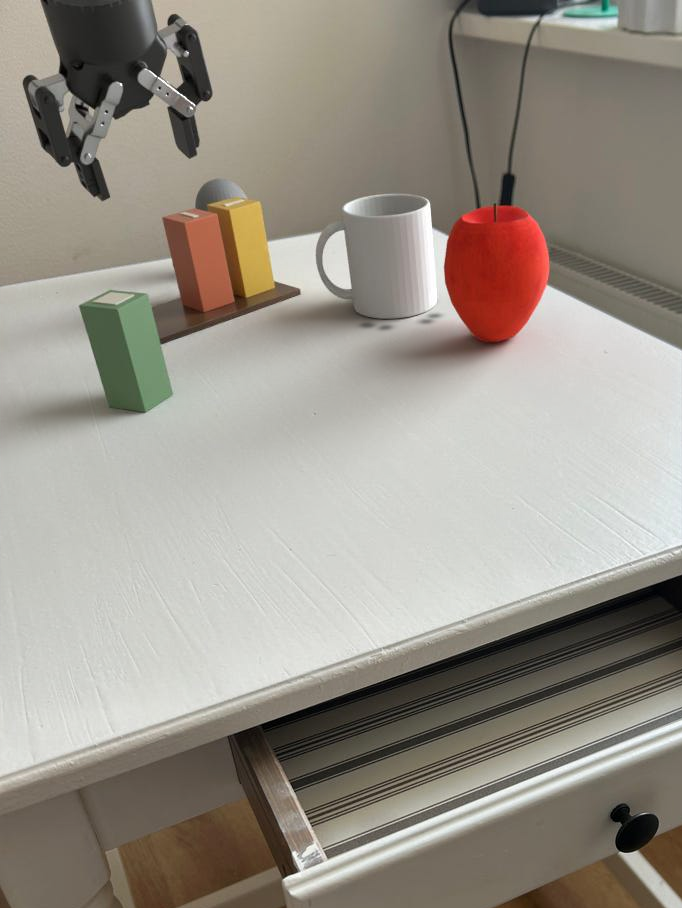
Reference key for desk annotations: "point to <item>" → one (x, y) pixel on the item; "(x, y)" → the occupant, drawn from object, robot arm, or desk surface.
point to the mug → (386, 255)
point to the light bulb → (217, 193)
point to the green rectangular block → (127, 350)
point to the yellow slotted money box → (244, 245)
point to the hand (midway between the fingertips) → (144, 173)
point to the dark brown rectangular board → (212, 312)
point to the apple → (496, 270)
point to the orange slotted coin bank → (198, 259)
